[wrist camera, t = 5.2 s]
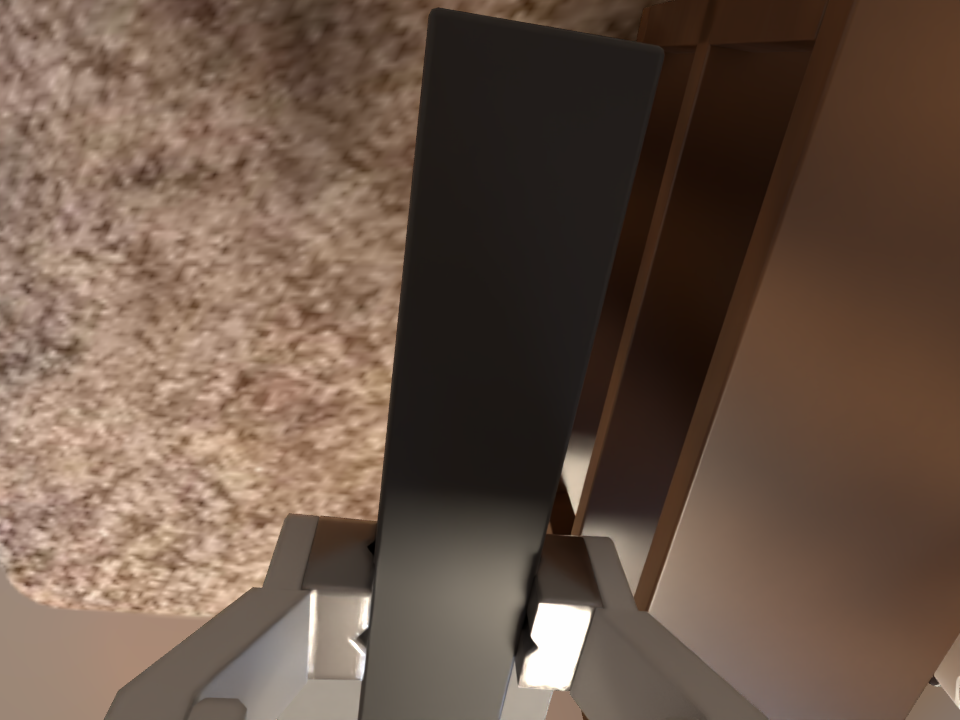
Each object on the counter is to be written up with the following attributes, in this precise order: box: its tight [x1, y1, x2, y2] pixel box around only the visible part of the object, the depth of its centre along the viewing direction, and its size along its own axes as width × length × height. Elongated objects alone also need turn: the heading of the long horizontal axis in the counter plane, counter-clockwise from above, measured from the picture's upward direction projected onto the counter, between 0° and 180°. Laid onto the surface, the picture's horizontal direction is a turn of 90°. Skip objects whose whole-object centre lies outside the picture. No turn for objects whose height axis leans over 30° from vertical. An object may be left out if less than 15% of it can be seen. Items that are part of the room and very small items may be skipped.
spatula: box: [277, 8, 665, 720], centre depth 11 cm, size 18×6×3 cm, turn 171°
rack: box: [546, 0, 960, 720], centre depth 23 cm, size 23×10×14 cm, turn 172°
